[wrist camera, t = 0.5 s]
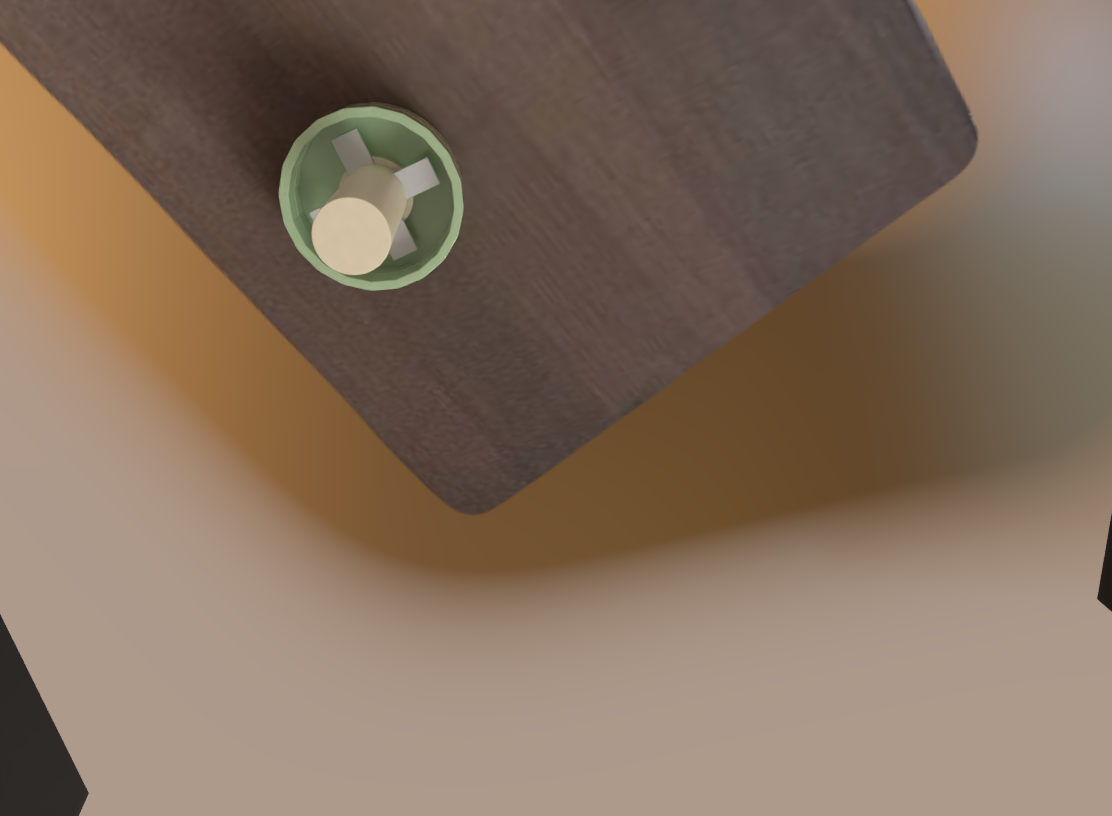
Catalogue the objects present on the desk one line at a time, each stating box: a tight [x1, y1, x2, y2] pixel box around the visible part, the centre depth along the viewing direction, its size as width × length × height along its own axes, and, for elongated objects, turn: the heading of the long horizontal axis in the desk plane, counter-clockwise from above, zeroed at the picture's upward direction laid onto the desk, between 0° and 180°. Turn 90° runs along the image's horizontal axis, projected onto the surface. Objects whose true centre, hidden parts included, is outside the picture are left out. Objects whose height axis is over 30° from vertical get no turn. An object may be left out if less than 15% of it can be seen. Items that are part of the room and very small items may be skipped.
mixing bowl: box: [278, 102, 464, 291], centre depth 56 cm, size 11×11×4 cm
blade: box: [309, 128, 440, 275], centre depth 51 cm, size 8×8×14 cm
